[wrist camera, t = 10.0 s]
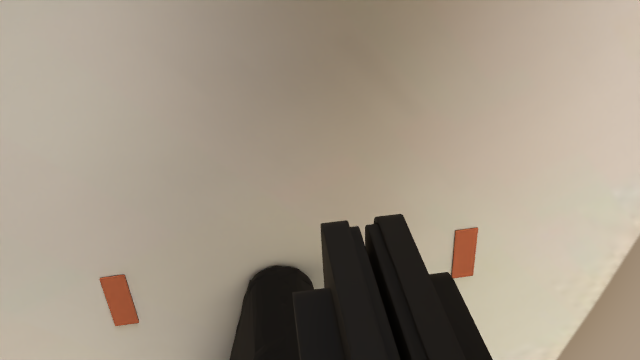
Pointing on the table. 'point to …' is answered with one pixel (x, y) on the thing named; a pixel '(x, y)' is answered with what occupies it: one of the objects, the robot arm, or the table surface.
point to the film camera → (270, 316)
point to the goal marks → (126, 314)
